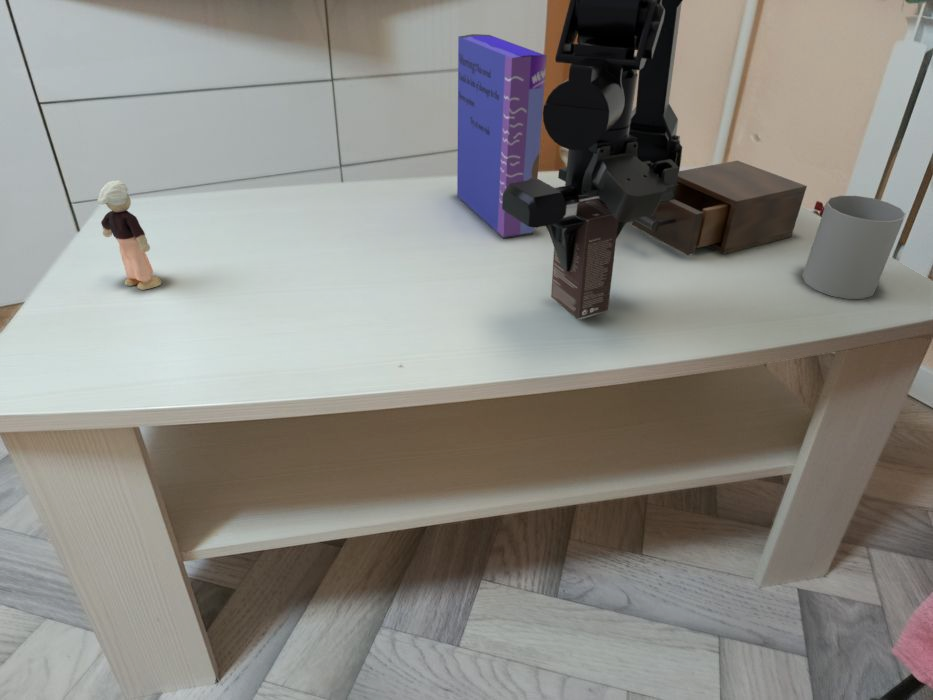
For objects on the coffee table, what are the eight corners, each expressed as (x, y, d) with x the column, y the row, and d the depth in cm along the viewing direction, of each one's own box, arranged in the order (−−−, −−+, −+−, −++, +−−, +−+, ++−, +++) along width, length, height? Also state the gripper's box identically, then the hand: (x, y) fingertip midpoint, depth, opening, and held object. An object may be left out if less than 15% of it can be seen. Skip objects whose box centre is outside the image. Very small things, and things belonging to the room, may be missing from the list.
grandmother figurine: (176, 280, 82) (151, 180, 75) (155, 294, 79) (126, 191, 72) (126, 270, 84) (97, 172, 77) (103, 283, 81) (70, 182, 74)
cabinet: (723, 254, 91) (736, 201, 86) (660, 222, 100) (669, 172, 96) (791, 236, 96) (807, 185, 92) (725, 207, 105) (737, 160, 101)
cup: (883, 302, 80) (915, 224, 74) (811, 295, 81) (837, 218, 76) (863, 271, 87) (891, 198, 81) (796, 265, 88) (820, 192, 83)
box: (610, 311, 75) (621, 212, 68) (577, 321, 74) (584, 221, 67) (581, 287, 80) (588, 192, 73) (549, 296, 78) (553, 200, 71)
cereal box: (533, 233, 95) (546, 53, 82) (503, 238, 94) (512, 56, 81) (484, 193, 109) (489, 33, 96) (457, 197, 107) (458, 34, 94)
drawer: (663, 261, 86) (671, 219, 83) (608, 230, 95) (614, 191, 92) (754, 238, 93) (765, 198, 90) (695, 211, 101) (703, 173, 98)
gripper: (570, 158, 56) (554, 318, 64) (731, 132, 63) (697, 278, 72) (503, 125, 64) (496, 271, 72) (652, 106, 71) (630, 240, 80)
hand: (582, 265), depth 74 cm, fingers closed on box, 4 cm apart
